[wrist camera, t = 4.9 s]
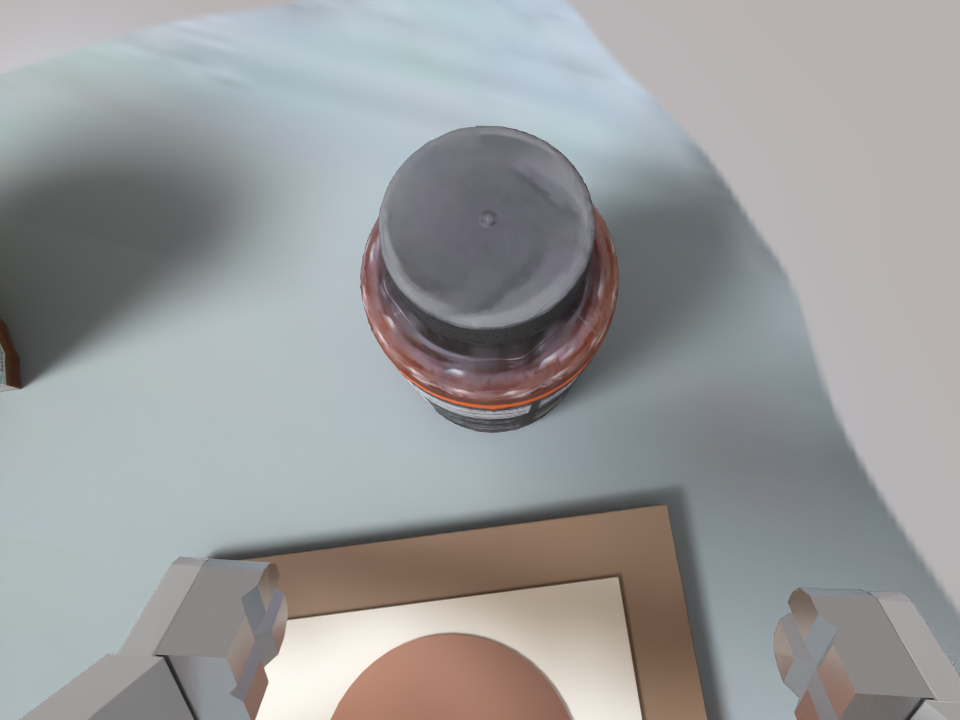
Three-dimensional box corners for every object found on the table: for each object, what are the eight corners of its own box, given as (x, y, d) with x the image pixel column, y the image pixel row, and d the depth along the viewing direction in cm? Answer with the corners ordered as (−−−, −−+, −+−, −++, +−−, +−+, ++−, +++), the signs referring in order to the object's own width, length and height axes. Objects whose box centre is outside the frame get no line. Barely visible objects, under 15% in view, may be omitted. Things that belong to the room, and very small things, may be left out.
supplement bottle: (451, 252, 23) (409, 28, 12) (599, 312, 22) (703, 134, 11) (383, 396, 22) (265, 299, 11) (537, 463, 21) (583, 435, 10)
